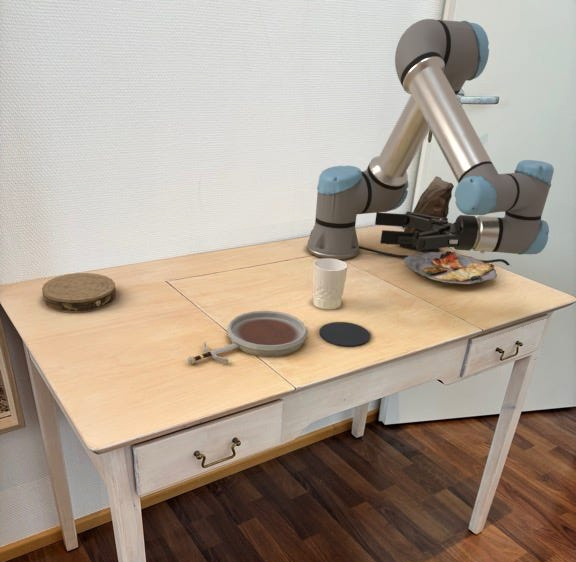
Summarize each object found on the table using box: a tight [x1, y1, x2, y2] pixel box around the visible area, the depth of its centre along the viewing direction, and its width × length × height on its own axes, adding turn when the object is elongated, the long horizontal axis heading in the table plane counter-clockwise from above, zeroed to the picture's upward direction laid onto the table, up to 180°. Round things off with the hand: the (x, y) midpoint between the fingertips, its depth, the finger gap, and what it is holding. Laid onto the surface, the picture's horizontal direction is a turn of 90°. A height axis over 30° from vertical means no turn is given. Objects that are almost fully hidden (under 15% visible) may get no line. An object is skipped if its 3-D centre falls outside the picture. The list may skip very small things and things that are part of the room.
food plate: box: [403, 250, 498, 285], centre depth 160 cm, size 25×23×4 cm
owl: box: [398, 176, 455, 253], centre depth 174 cm, size 13×13×20 cm
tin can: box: [41, 272, 117, 314], centre depth 134 cm, size 16×16×3 cm
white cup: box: [312, 258, 349, 311], centre depth 136 cm, size 8×8×10 cm
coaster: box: [319, 321, 371, 348], centre depth 126 cm, size 11×11×1 cm
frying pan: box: [187, 310, 308, 365], centre depth 119 cm, size 17×3×28 cm
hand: (378, 227), depth 129 cm, fingers open, 13 cm apart
